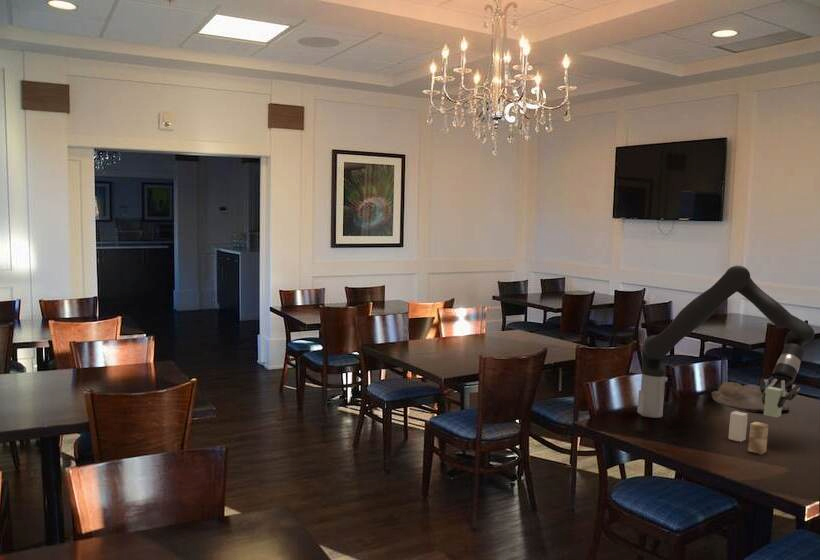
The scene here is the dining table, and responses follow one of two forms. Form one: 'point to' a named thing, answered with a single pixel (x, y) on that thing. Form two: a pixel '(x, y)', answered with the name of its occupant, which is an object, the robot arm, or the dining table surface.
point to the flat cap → (740, 397)
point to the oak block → (758, 437)
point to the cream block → (738, 426)
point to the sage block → (772, 402)
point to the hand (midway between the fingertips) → (771, 404)
